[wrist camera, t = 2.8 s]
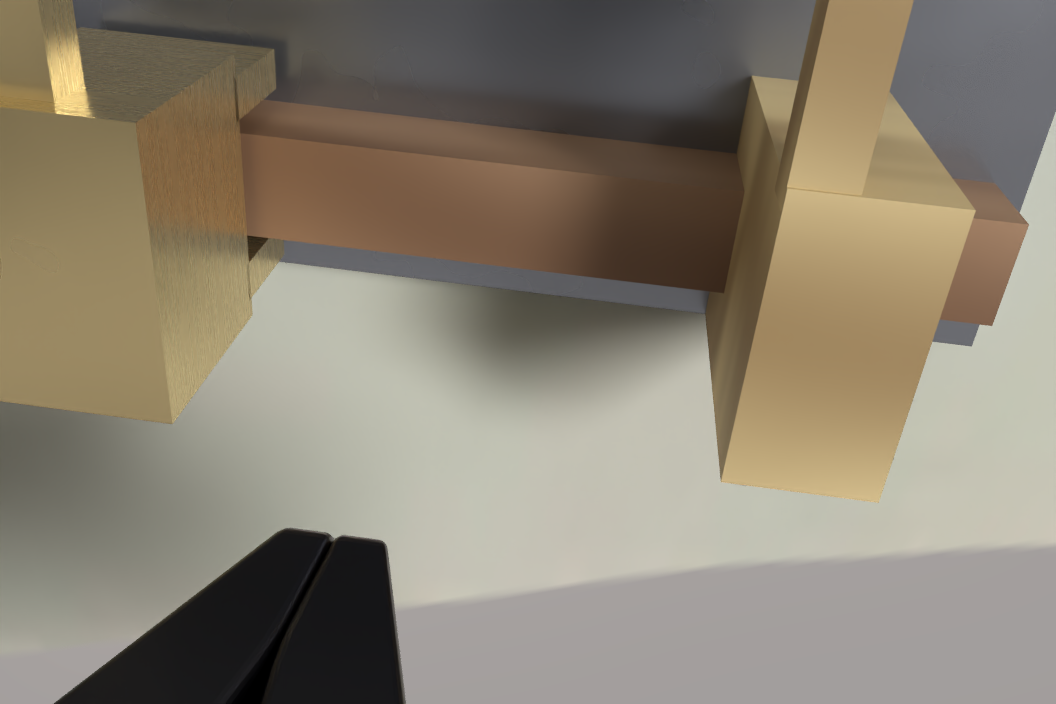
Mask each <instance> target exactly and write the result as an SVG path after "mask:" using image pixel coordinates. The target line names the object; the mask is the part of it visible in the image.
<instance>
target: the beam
mask: <svg viewBox="0 0 1056 704" xmlns="http://www.w3.org/2000/svg"><path fill="white" fill-rule="evenodd" d="M913 2H914V0H816V3H815V8H814V12H813V17H812V21H811V26H810V31H809V35H808V40H807V44H806V49H805V53H804V58H803V62H802V67H801V71H800V76H799V81H796V80H787V79H778V78H769V77H760V76H752V77H751V82H750V88H749V93H748V98H747V103H746V108H745V113H744V118H743V123H742V129H741V134H740V139H739V144H738V149H737V154H735V153H726V152H717V151H708V150H700V149H691V148H682V147H673V146H665V145H656V144H647V143H638V142H629V141H621V140H612V139H603V138H594V137H586V136H577V135H568V134H559V133H550V132H542V131H533V130H524V129H515V128H507V127H498V126H489V125H480V124H472V123H463V122H454V121H445V120H436V119H428V118H419V117H410V116H401V115H393V114H384V113H375V112H366V111H357V110H349V109H340V108H331V107H322V106H314V105H305V104H296V103H287V102H279V101H270V100H262V101H261V102H260V103H259V104H257V105H256V106H255V107H254V108H253V109H252V110H250V111H249V112H248V113H247V114H246V115H245V116H243V117H242V118H241V119H240V120H239V126H240V140H241V155H242V169H243V184H244V199H245V213H246V228H247V235H248V236H256V237H264V238H272V239H281V240H289V241H297V242H305V243H313V244H322V245H330V246H338V247H346V248H355V249H363V250H371V251H379V252H388V253H396V254H404V255H412V256H421V257H429V258H437V259H445V260H454V261H462V262H470V263H478V264H486V265H495V266H503V267H511V268H519V269H528V270H536V271H544V272H552V273H561V274H569V275H577V276H585V277H594V278H602V279H610V280H618V281H627V282H635V283H643V284H651V285H659V286H668V287H676V288H684V289H692V290H701V291H709V298H708V303H707V308H706V313H705V315H706V326H707V337H708V348H709V359H710V369H711V380H712V391H713V402H714V412H715V423H716V434H717V445H718V455H719V466H720V477H721V482H725V483H732V484H740V485H748V486H755V487H763V488H770V489H778V490H786V491H793V492H801V493H809V494H816V495H824V496H831V497H839V498H847V499H854V500H862V501H869V502H877V503H879V500H880V497H881V494H882V491H883V488H884V485H885V482H886V479H887V476H888V473H889V470H890V467H891V464H892V461H893V458H894V455H895V452H896V449H897V446H898V443H899V440H900V437H901V434H902V431H903V428H904V425H905V422H906V419H907V416H908V413H909V410H910V407H911V404H912V401H913V398H914V395H915V392H916V389H917V386H918V383H919V380H920V377H921V374H922V371H923V368H924V365H925V362H926V359H927V356H928V353H929V350H930V347H931V344H932V341H933V338H934V335H935V332H936V329H937V326H938V323H939V320H948V321H956V322H964V323H973V324H981V325H989V326H992V324H993V322H994V319H995V316H996V314H997V311H998V308H999V305H1000V303H1001V300H1002V297H1003V294H1004V292H1005V289H1006V286H1007V283H1008V281H1009V278H1010V275H1011V272H1012V270H1013V267H1014V264H1015V261H1016V259H1017V256H1018V253H1019V250H1020V248H1021V245H1022V242H1023V240H1024V237H1025V234H1026V231H1027V229H1028V226H1029V224H1028V223H1027V222H1026V221H1025V219H1024V218H1023V217H1022V216H1021V214H1020V213H1019V212H1018V211H1017V210H1016V208H1015V207H1014V206H1013V205H1012V203H1011V202H1010V201H1009V200H1008V199H1007V197H1006V196H1005V195H1004V194H1003V192H1002V191H1001V190H1000V189H999V188H998V186H997V185H996V184H995V183H989V182H980V181H972V180H963V179H954V178H952V177H951V175H950V174H949V173H948V171H947V170H946V169H945V167H944V166H943V164H942V163H941V162H940V160H939V159H938V158H937V156H936V155H935V153H934V152H933V151H932V149H931V148H930V147H929V145H928V144H927V142H926V141H925V140H924V138H923V137H922V135H921V134H920V133H919V131H918V130H917V129H916V127H915V126H914V124H913V123H912V122H911V120H910V119H909V118H908V116H907V115H906V113H905V112H904V111H903V109H902V108H901V106H900V105H899V104H898V102H897V101H896V100H895V98H894V97H893V95H892V94H891V93H890V87H891V84H892V80H893V76H894V73H895V69H896V65H897V61H898V58H899V54H900V50H901V46H902V43H903V39H904V35H905V31H906V28H907V24H908V20H909V17H910V13H911V9H912V5H913Z"/></svg>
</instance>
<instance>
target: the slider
mask: <svg viewBox="0 0 1056 704" xmlns="http://www.w3.org/2000/svg"><path fill="white" fill-rule="evenodd" d="M275 89H276V70H275V49H272V48H263V47H254V46H245V45H236V44H227V43H218V42H209V41H200V40H191V39H182V38H173V37H164V36H155V35H146V34H137V33H128V32H120V31H111V30H102V29H93V28H84V27H80V28H78V29H76V22H75V15H74V8H73V2H72V0H0V401H2V402H9V403H17V404H24V405H32V406H40V407H47V408H55V409H62V410H70V411H77V412H85V413H93V414H100V415H108V416H115V417H123V418H130V419H138V420H146V421H153V422H161V423H168V424H173V423H174V421H175V420H176V419H177V417H178V416H179V414H180V413H181V412H182V410H183V409H184V408H185V406H186V405H187V404H188V402H189V401H190V399H191V398H192V397H193V395H194V394H195V393H196V391H197V390H198V389H199V387H200V386H201V384H202V383H203V382H204V380H205V379H206V378H207V376H208V375H209V374H210V372H211V371H212V369H213V368H214V367H215V365H216V364H217V363H218V361H219V360H220V359H221V357H222V356H223V354H224V353H225V352H226V350H227V349H228V348H229V346H230V345H231V344H232V342H233V341H234V339H235V338H236V337H237V335H238V334H239V333H240V331H241V330H242V329H243V327H244V326H245V324H246V323H247V322H248V320H249V319H250V318H251V316H252V301H251V298H252V296H253V295H254V294H255V292H256V291H257V290H258V288H259V287H260V286H261V284H262V283H263V282H264V281H265V279H266V278H267V277H268V275H269V274H270V273H271V271H272V270H273V269H274V267H275V266H276V265H277V263H278V262H279V261H280V259H281V258H282V257H283V255H284V240H281V239H272V238H264V237H256V236H248V235H247V228H246V213H245V199H244V184H243V169H242V155H241V140H240V126H239V120H240V119H241V118H242V117H243V116H245V115H246V114H247V113H248V112H249V111H250V110H252V109H253V108H254V107H255V106H256V105H257V104H259V103H260V102H261V101H262V100H263V99H265V98H266V97H267V96H268V95H269V94H270V93H272V92H273V91H274V90H275Z"/></svg>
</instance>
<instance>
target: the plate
mask: <svg viewBox="0 0 1056 704" xmlns="http://www.w3.org/2000/svg"><path fill="white" fill-rule="evenodd" d="M72 2H73V8H74V15H75V22H76V29H78V28H80V27H84V28H93V29H102V30H111V31H120V32H128V33H137V34H146V35H155V36H164V37H173V38H182V39H191V40H200V41H209V42H218V43H227V44H236V45H245V46H254V47H263V48H272V49H275V70H276V89H275V90H274V91H273V92H272V93H270V94H269V95H268V96H267V97H266V98H265V99H263V100H270V101H279V102H287V103H296V104H305V105H314V106H322V107H331V108H340V109H349V110H357V111H366V112H375V113H384V114H393V115H401V116H410V117H419V118H428V119H436V120H445V121H454V122H463V123H472V124H480V125H489V126H498V127H507V128H515V129H524V130H533V131H542V132H550V133H559V134H568V135H577V136H586V137H594V138H603V139H612V140H621V141H629V142H638V143H647V144H656V145H665V146H673V147H682V148H691V149H700V150H708V151H717V152H726V153H735V154H737V149H738V144H739V139H740V134H741V129H742V123H743V118H744V113H745V108H746V103H747V98H748V93H749V88H750V82H751V77H752V76H760V77H769V78H778V79H787V80H796V81H799V76H800V71H801V67H802V62H803V58H804V53H805V49H806V44H807V40H808V35H809V31H810V26H811V21H812V17H813V12H814V8H815V3H816V0H72ZM890 93H891V94H892V95H893V97H894V98H895V100H896V101H897V102H898V104H899V105H900V106H901V108H902V109H903V111H904V112H905V113H906V115H907V116H908V118H909V119H910V120H911V122H912V123H913V124H914V126H915V127H916V129H917V130H918V131H919V133H920V134H921V135H922V137H923V138H924V140H925V141H926V142H927V144H928V145H929V147H930V148H931V149H932V151H933V152H934V153H935V155H936V156H937V158H938V159H939V160H940V162H941V163H942V164H943V166H944V167H945V169H946V170H947V171H948V173H949V174H950V175H951V177H952V178H954V179H963V180H972V181H980V182H989V183H995V184H996V185H997V186H998V188H999V189H1000V190H1001V191H1002V192H1003V194H1004V195H1005V196H1006V197H1007V199H1008V200H1009V201H1010V202H1011V203H1012V205H1013V206H1014V207H1015V208H1016V210H1017V211H1018V212H1020V210H1021V207H1022V204H1023V201H1024V198H1025V196H1026V193H1027V190H1028V187H1029V184H1030V182H1031V179H1032V176H1033V173H1034V170H1035V168H1036V165H1037V162H1038V159H1039V156H1040V154H1041V151H1042V148H1043V145H1044V142H1045V140H1046V137H1047V134H1048V131H1049V128H1050V126H1051V123H1052V120H1053V117H1054V114H1055V112H1056V0H914V2H913V5H912V9H911V13H910V17H909V20H908V24H907V28H906V31H905V35H904V39H903V43H902V46H901V50H900V54H899V58H898V61H897V65H896V69H895V73H894V76H893V80H892V84H891V87H890ZM280 262H288V263H296V264H304V265H312V266H320V267H328V268H337V269H345V270H353V271H361V272H369V273H377V274H386V275H394V276H402V277H410V278H418V279H426V280H435V281H443V282H451V283H459V284H467V285H475V286H483V287H492V288H500V289H508V290H516V291H524V292H532V293H541V294H549V295H557V296H565V297H573V298H581V299H590V300H598V301H606V302H614V303H622V304H630V305H638V306H647V307H655V308H663V309H671V310H679V311H687V312H696V313H704V314H705V313H706V308H707V303H708V298H709V291H701V290H692V289H684V288H676V287H668V286H659V285H651V284H643V283H635V282H627V281H618V280H610V279H602V278H594V277H585V276H577V275H569V274H561V273H552V272H544V271H536V270H528V269H519V268H511V267H503V266H495V265H486V264H478V263H470V262H462V261H454V260H445V259H437V258H429V257H421V256H412V255H404V254H396V253H388V252H379V251H371V250H363V249H355V248H346V247H338V246H330V245H322V244H313V243H305V242H297V241H289V240H284V255H283V257H282V258H281V259H280ZM978 327H979V324H973V323H964V322H956V321H948V320H939V323H938V326H937V329H936V332H935V335H934V338H933V341H932V342H940V343H949V344H957V345H965V346H972V344H973V341H974V338H975V336H976V333H977V330H978Z"/></svg>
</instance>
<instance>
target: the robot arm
mask: <svg viewBox="0 0 1056 704" xmlns="http://www.w3.org/2000/svg"><path fill="white" fill-rule="evenodd" d="M54 704H406V700H405V692H404V683H403V675H402V666H401V658H400V649H399V641H398V633H397V624H396V616H395V607H394V599H393V590H392V582H391V574H390V565H389V557H388V550H387V546H386V544H385V543H384V542H383V541H381V540H377V539H369V538H362V537H355V536H347V535H341V536H339V537H337V538H336V539H335V540H334V538H333V537H332V536H331V535H330V534H328V533H325V532H318V531H310V530H303V529H295V528H285V529H283V530H280V531H278V532H277V533H275V534H274V535H273V536H271V537H270V538H269V539H268V540H266V541H265V542H264V543H262V544H261V545H260V546H258V547H257V548H256V549H255V550H253V551H252V552H251V553H249V554H248V555H247V556H245V557H244V558H243V559H241V560H240V561H239V562H238V563H236V564H235V565H234V566H232V567H231V568H230V569H228V570H227V571H226V572H225V573H223V574H222V575H221V576H219V577H218V578H217V579H215V580H214V581H213V582H212V583H210V584H209V585H208V586H206V587H205V588H204V589H202V590H201V591H200V592H198V593H197V594H196V595H195V596H193V597H192V598H191V599H189V600H188V601H187V602H185V603H184V604H183V605H182V606H180V607H179V608H178V609H176V610H175V611H174V612H172V613H171V614H170V615H168V616H167V617H166V618H165V619H163V620H162V621H161V622H159V623H158V624H157V625H155V626H154V627H153V628H152V629H150V630H149V631H148V632H146V633H145V634H144V635H142V636H141V637H140V638H138V639H137V640H136V641H135V642H133V643H132V644H131V645H129V646H128V647H127V648H125V649H124V650H123V651H122V652H120V653H119V654H118V655H116V656H115V657H114V658H112V659H111V660H110V661H109V662H107V663H106V664H105V665H103V666H102V667H101V668H99V669H98V670H97V671H95V672H94V673H93V674H92V675H90V676H89V677H88V678H86V679H85V680H84V681H82V682H81V683H80V684H79V685H77V686H76V687H75V688H73V689H72V690H71V691H69V692H68V693H67V694H65V695H64V696H63V697H62V698H60V699H59V700H58V701H56V702H55V703H54Z"/></svg>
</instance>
